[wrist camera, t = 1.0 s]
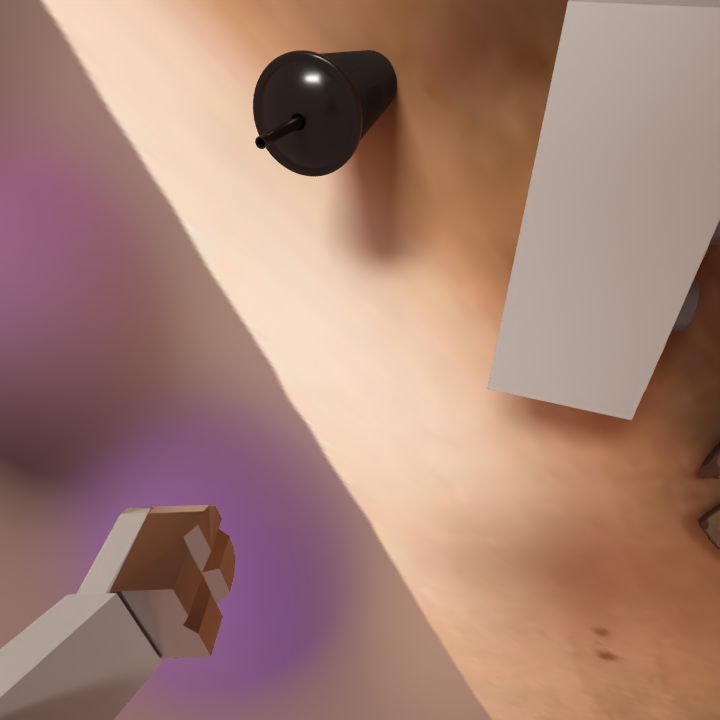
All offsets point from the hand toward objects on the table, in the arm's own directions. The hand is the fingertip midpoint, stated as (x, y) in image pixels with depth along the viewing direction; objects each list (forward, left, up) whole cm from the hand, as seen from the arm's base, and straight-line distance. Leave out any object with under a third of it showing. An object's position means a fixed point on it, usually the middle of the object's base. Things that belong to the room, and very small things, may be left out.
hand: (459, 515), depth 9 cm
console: (-1, +8, -43) cm, 43 cm away
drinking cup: (+13, -7, -43) cm, 45 cm away
